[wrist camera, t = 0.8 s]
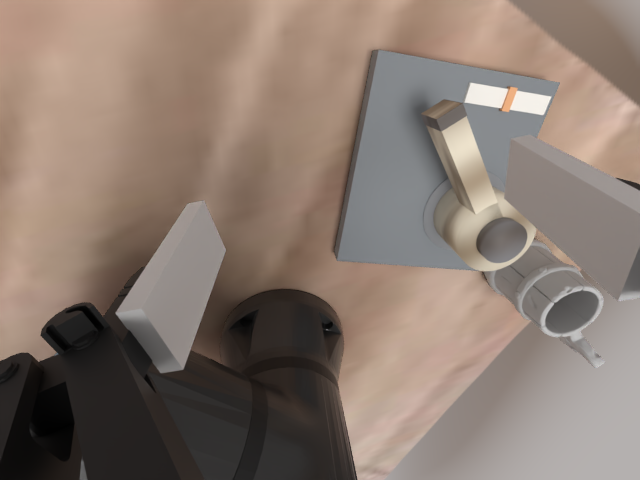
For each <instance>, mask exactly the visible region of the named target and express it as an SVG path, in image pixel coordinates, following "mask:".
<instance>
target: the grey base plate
mask: <svg viewBox="0 0 640 480" xmlns="http://www.w3.org/2000/svg"><path fill="white" fill-rule="evenodd" d="M559 84H560V83H559V82H553V81H548V80H542V79H537V78H531V77H526V76H520V75H515V74H509V73H504V72H498V71H493V70H487V69H482V68H476V67H471V66H465V65H460V64H454V63H449V62H444V61H438V60H433V59H427V58H422V57H416V56H411V55H405V54H400V53H394V52H389V51H383V50H373V51H372V56H371V62H370V67H369V72H368V77H367V83H366V88H365V93H364V98H363V104H362V109H361V114H360V119H359V125H358V130H357V135H356V140H355V145H354V151H353V156H352V161H351V166H350V172H349V177H348V182H347V187H346V193H345V198H344V203H343V208H342V214H341V219H340V224H339V229H338V234H337V240H336V245H335V250H334V253H335V256H336V259H337V261H347V262H361V263H375V264H389V265H403V266H417V267H431V268H445V269H459V270H473V271H479V270H475V269H473V268H471V267H469V266H468V265H467V264H466V263H465V262H464V261H463V260H462V259H461V258H460V257H459V256H458V255H457V254H456V252H455V251H454V250H453V249H452V248H451V247H450V246H449V245H448V244H447V243H446V242H445V241H444V240H443V239H442V238H441V237H440V235H439V234H438V233H437V231H436V229H435V227H434V221H433V218H434V212H435V209H436V206H437V204H438V202H439V201H440V199H441V198H442V196H443V195H444V194H445V193H446V192H447V191H448V190H450V189H451V188H452V185H451V182H450V180H449V178H448V175H447V173H446V171H445V168H444V166H443V164H442V161H441V159H440V157H439V154H438V152H437V150H436V147H435V145H434V143H433V140H432V138H431V136H430V133H429V131H428V129H427V126H426V125H425V124H424V121H423V119H422V117H421V113H423V112H424V111H426V110H428V109H429V108H431V107H432V106H434V105H435V104H437V103H439V102H440V101H442V100H443V99H446V100H451V101H455V102H460V103H463V105H464V107H465V110H466V113H467V119H468V121H469V124H470V127H471V130H472V133H473V135H474V138H475V141H476V144H477V146H478V149H479V152H480V155H481V157H482V160H483V163H484V166H485V168H486V171H487V174H488V177H489V180H490V182H491V185H492V186H493V187H495V188H497V189H498V190H500V191H502V192H504V193H505V185H506V176H507V168H508V159H509V150H510V141H511V138H516V137H521V136H526V135H532V136H534V137H536V138H537V136H538V133H539V131H540V129H541V126H542V124H543V122H544V119H545V117H546V115H547V112H548V110H549V107H550V105H551V103H552V100H553V98H554V96H555V93H556V91H557V89H558V86H559Z"/></svg>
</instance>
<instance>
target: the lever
mask: <svg viewBox="0 0 640 480" xmlns="http://www.w3.org/2000/svg"><path fill="white" fill-rule="evenodd" d="M421 117H422V119H423V121H424V124H425V125H426V126H427V129H428V131H429V133H430V136H431V138H432V140H433V143H434V145H435V147H436V150H437V152H438V154H439V157H440V159H441V161H442V164H443V166H444V168H445V171H446V173H447V175H448V178H449V180H450V182H451V185H452V188H451V189H450V190H448V191H447V192H446V193H445V194H444V195H443V196H442V198H441V199H440V201H439V202H438V204H437V206H436V209H435V212H434V218H433V221H434V227H435V229H436V231H437V233H438V234H439V235H440V237H441V238H442V239H443V240H444V241H445V242H446V243H447V244H448V245H449V246H450V247H451V248H452V249H453V250H454V251H455V252H456V254H457V255H458V256H459V257H460V258H461V259H462V260H463V261H464V262H465V263H466V264H467V265H468V266H469V267H471V268H473V269H475V270H479V271H495V270H498V269H501V268H504V267H506V266H508V265H510V264H512V263H513V262H515V261H516V260H518V259H519V258H520V257H521V256H522V255H523V254H524V253H525V252H526V251H527V249H528V248H529V247H530V245H531V243H532V241H533V239H534V237H535V233H536V227H535V226H534V225H533V224H532V223H530V222H529V221H528V220H527V219H526V218H525V217H524V216H523V215H522V214H521V213H519V212H518V211H517V210H516V209H515V208H514V207H513V206H512V205H511V204H509V203H508V202H507V201H506V200H505V199H504V194H505V193H504V192H502V191H500V190H498V189H497V188H495V187H493V186H492V185H491V182H490V180H489V177H488V174H487V171H486V168H485V166H484V163H483V160H482V157H481V155H480V152H479V149H478V146H477V144H476V141H475V138H474V135H473V133H472V130H471V127H470V124H469V121H468V119H467V113H466V110H465V107H464V105H463V103H460V102H455V101H451V100H446V99H443V100H442V101H440V102H439V103H437V104H435V105H434V106H432V107H431V108H429V109H428V110H426V111H424V112H423V113H421Z"/></svg>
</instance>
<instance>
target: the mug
mask: <svg viewBox="0 0 640 480" xmlns="http://www.w3.org/2000/svg"><path fill="white" fill-rule="evenodd" d="M483 272H484V274H485V277H486V279H487V281H488V283H489V285H490V287H491V288H492V289H493V290H494V291H495V292H496V293H498V294H501V295H504V296H505V297H506V298H507V299H508V300H509V301H511V302H512V303H513V304H514V306H515V308H516V310H517V311H518V312H519V313H520V314H521V316H522V317H523V318H525V319H528V320H531V321H532V322H533V323H534V324H535V325H536V326H537V327H538V328H539V329H541V330H542V331H543V332H544V333H545V334H547V335H549V336H552V337H558V338H560V340H561V341H562V342H563V343H564V344H566V345H568V346H569V347H570V348H571V349H573V350H574V351H575V352H578V353H580V354H581V355H582V356H583V357H584V358H585V359H586V360H587V361H588V362H589V363H590V364H591V365H592V366H593V367H594V368H597V367H599V366H600V365H602V364H604V363H605V361H604V360H603V358H602V357H601V356H599V355H598V354H597V353H596V351H595V350H594V348H593V346H592V345H591V344H590V343H589V342H588V341H587V340H586V339H585V338H584V337H583V336H582V334H581V330H583V329H584V328H585V327H587V326H588V325H589V324H590V323H592V322H593V321H594V320H595V319H596V317H597V316H598V315H599V313H600V311H601V310H602V307H603V303H604V301H603V296H602V295H601V293H600V292H599V291H598V289H597V288H596V287H594V286H593V285H592V284H590V283H589V282H588V281H586V280H585V279H584V278H583V276H582V275H581V273H580V272H579V271H578V269H577V268H576V267H575V266H573V265H569V264H565V263H563V262H562V261H560V260H559V259H558V258H556V257H555V256H554V255H553V254H552V252H551V251H550V249H549V248H548V247H547V245H546V244H545V243H543V242H540V241H538V240H535V239H533V241H532V243H531V245H530V247H529V248H528V249H527V251H526V252H525V253H524V254H523V255H522V256H521V257H520V258H519V259H518V260H516V261H515V262H513V263H512V264H510V265H508V266H506V267H504V268H501V269H498V270H495V271H483Z"/></svg>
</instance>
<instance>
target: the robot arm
mask: <svg viewBox="0 0 640 480" xmlns="http://www.w3.org/2000/svg"><path fill="white" fill-rule="evenodd" d="M504 199H505V200H506V201H507V202H508V203H509V204H511V205H512V206H513V207H514V208H515V209H516V210H517V211H518V212H519V213H521V214H522V215H523V216H524V217H525V218H526V219H527V220H528V221H529V222H530V223H532V224H533V225H534V226H535V227H536V228H537V229H538V230H539V231H540V232H542V233H543V234H544V235H545V236H546V237H547V238H548V239H549V240H550V241H552V242H553V243H554V244H555V245H556V246H557V247H558V248H559V249H560V250H561V251H563V252H564V253H565V254H566V255H567V256H568V257H569V258H570V259H571V260H573V261H574V262H575V263H576V264H577V265H578V266H579V267H580V268H581V269H582V270H584V271H585V272H586V273H587V274H588V275H589V276H590V277H591V278H592V279H594V280H595V281H596V282H597V283H598V284H599V285H600V286H601V287H602V288H603V289H605V290H606V291H607V292H608V293H609V294H610V295H611V296H612V297H614V298H615V299H616V300H617V301H624V300H630V299H636V298H640V185H639V184H637V183H634V182H631V181H627V180H623V179H619V178H614V177H612V176H610V175H608V174H606V173H604V172H602V171H600V170H598V169H596V168H594V167H592V166H590V165H589V164H587V163H585V162H583V161H581V160H579V159H577V158H575V157H573V156H571V155H569V154H567V153H565V152H563V151H561V150H559V149H557V148H555V147H553V146H551V145H549V144H547V143H545V142H543V141H542V140H540V139H538V138H536V137H534V136H532V135H526V136H521V137H516V138H511V141H510V150H509V159H508V168H507V176H506V185H505V194H504ZM225 252H226V249H225V247H224V245H223V242H222V240H221V238H220V235H219V233H218V231H217V228H216V226H215V224H214V222H213V219H212V217H211V215H210V212H209V210H208V208H207V206H206V203H205V201H204V200H203V201H198V202H193V203H188V204H187V205H186V207H185V208H184V210H183V211H182V213H181V214H180V216H179V217H178V219H177V220H176V222H175V223H174V225H173V226H172V228H171V230H170V231H169V233H168V234H167V236H166V237H165V239H164V240H163V242H162V243H161V245H160V246H159V248H158V249H157V251H156V252H155V254H154V255H153V257H152V258H151V260H150V261H149V263H148V264H147V266H146V267H142V268H141V269H140V270H138V271H137V272H136V273H135V274H134V275H133V276H132V277H131V278H130V279H129V281H128V282H127V283H126V285H125V286H124V289H122V291H121V292H120V294H119V295H118V298H116V299H115V301H114V302H113V304H112V305H111V307H110V308H109V309H108V311H107V312H106V314H105V315H104V317H102V315H101V314H100V313H99V312H98V310H97V309H96V308H95V307H94V305H92V304H91V303H80V304H76V305H73V306H71V307H69V308H66V309H64V310H63V311H61V312H60V313H58V314H56V315H55V316H54V317H53V318H52V319H50V320H49V321H48V322H47V323H46V325H45V326H44V327H43V329H42V331H41V336H42V337H43V338H44V339H45V340H46V342H47V343H48V344H49V345H50V346H51V347H52V348H53V349H54V350H55V351H56V352H57V353H56V354H55V355H54V356H52V357H50V358H47V359H45V360H42V361H40V362H38V361H37V360H36V359H35V358H34V357H33V356H32V355H30V354H29V353H19V354H16V355H13V356H10V357H8V358H7V359H5V360H2V361H0V480H357V476H356V471H355V466H354V461H353V456H352V451H351V446H350V441H349V436H348V432H347V427H346V422H345V417H344V412H343V407H342V402H341V397H340V393H339V387H338V378H339V373H340V367H341V362H342V356H343V350H344V337H343V332H342V328H341V324H340V321H339V318H338V316H337V314H336V313H335V311H334V310H333V309H332V308H331V307H330V306H329V305H328V304H327V303H326V302H324V301H323V300H321V299H320V298H318V297H316V296H314V295H311V294H309V293H305V292H301V291H296V290H274V291H269V292H264V293H261V294H258V295H255V296H253V297H251V298H249V299H247V300H246V301H244V302H242V303H241V304H240V305H239V306H237V307H236V308H235V309H234V310H233V311H232V312H231V314H230V315H229V317H228V318H227V320H226V322H225V324H224V327H223V331H222V336H221V341H220V357H221V361H222V364H220V363H218V362H216V361H214V360H212V359H209V358H207V357H205V356H203V355H201V354H198V353H196V352H194V351H192V350H191V347H192V344H193V341H194V339H195V336H196V333H197V330H198V327H199V325H200V322H201V319H202V316H203V313H204V311H205V308H206V305H207V302H208V299H209V297H210V294H211V291H212V288H213V285H214V283H215V280H216V277H217V274H218V271H219V269H220V266H221V263H222V260H223V257H224V255H225Z"/></svg>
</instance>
